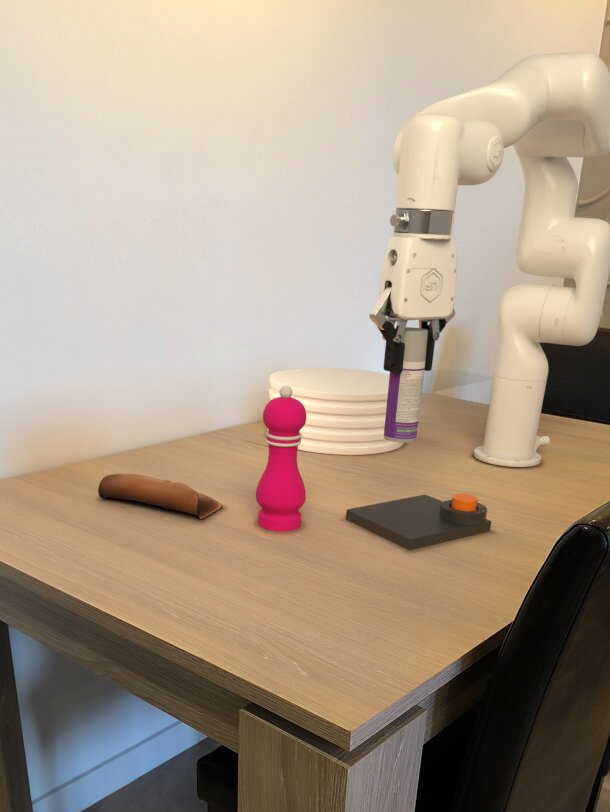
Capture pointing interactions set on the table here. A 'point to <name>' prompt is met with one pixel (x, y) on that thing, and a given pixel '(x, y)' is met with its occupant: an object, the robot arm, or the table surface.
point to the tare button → (464, 502)
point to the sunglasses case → (158, 493)
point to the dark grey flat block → (419, 521)
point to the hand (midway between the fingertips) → (407, 369)
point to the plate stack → (339, 409)
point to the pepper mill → (282, 465)
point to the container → (406, 389)
